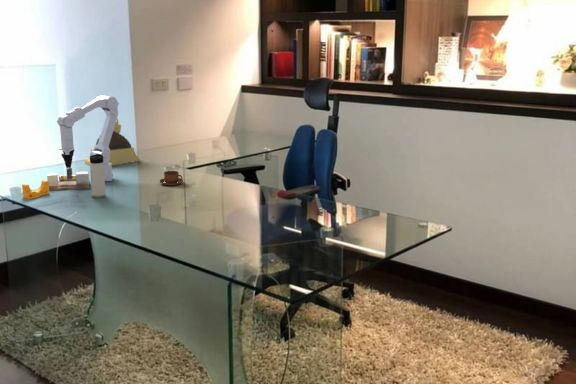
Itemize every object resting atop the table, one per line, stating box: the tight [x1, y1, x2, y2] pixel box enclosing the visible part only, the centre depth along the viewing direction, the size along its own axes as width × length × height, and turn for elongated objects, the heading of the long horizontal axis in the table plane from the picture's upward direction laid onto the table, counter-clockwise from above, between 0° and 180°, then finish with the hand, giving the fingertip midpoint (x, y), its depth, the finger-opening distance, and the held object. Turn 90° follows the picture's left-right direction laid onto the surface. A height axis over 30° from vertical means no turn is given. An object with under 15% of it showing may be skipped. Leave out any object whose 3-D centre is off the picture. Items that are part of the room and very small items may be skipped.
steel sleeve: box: [75, 171, 90, 186], centre depth 325 cm, size 6×5×6 cm
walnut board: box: [49, 180, 90, 192], centre depth 324 cm, size 21×14×1 cm, turn 105°
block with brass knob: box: [58, 167, 76, 182], centre depth 323 cm, size 14×3×7 cm, turn 105°
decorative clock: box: [84, 118, 140, 167], centre depth 373 cm, size 28×13×30 cm, turn 130°
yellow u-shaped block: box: [21, 179, 50, 200], centre depth 305 cm, size 12×4×6 cm, turn 141°
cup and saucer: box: [159, 170, 184, 186], centre depth 332 cm, size 12×12×6 cm
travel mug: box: [89, 154, 107, 199], centre depth 305 cm, size 6×7×20 cm
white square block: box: [46, 172, 59, 186], centre depth 321 cm, size 4×5×6 cm
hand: (69, 166), depth 322 cm, fingers open, 7 cm apart
